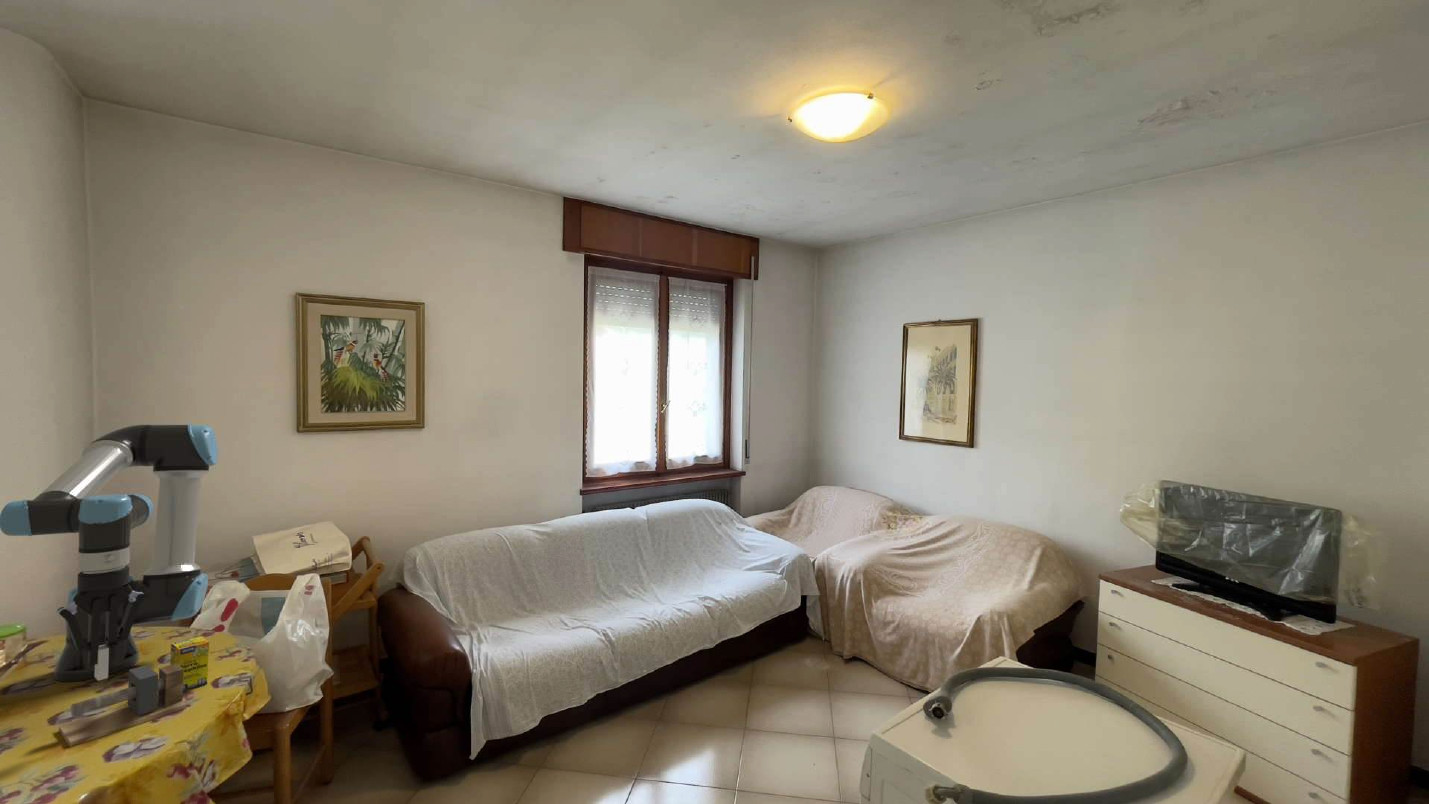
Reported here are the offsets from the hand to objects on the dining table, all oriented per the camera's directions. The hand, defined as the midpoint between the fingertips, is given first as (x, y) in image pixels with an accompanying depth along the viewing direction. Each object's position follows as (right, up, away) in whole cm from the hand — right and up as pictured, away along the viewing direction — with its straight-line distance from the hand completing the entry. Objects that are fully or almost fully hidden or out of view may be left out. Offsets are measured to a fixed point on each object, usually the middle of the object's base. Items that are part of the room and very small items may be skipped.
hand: (101, 677), depth 120 cm
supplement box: (-1, -13, +21) cm, 24 cm away
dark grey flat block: (+1, -11, +8) cm, 13 cm away
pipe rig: (-1, -12, +6) cm, 14 cm away
